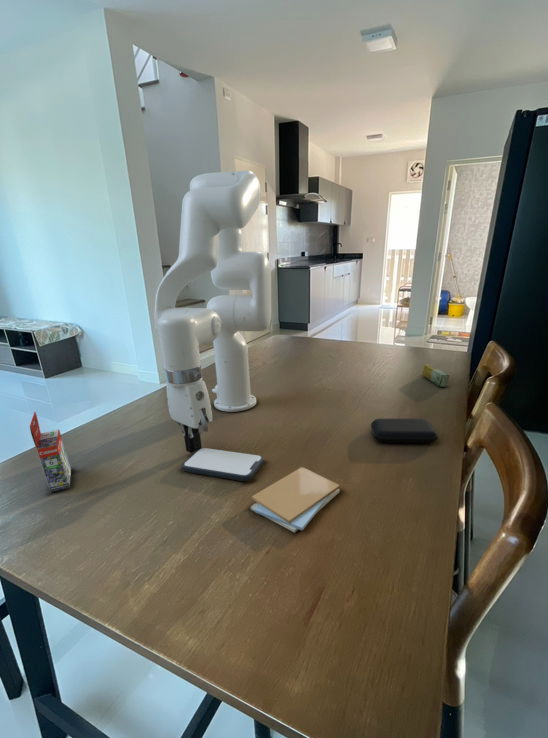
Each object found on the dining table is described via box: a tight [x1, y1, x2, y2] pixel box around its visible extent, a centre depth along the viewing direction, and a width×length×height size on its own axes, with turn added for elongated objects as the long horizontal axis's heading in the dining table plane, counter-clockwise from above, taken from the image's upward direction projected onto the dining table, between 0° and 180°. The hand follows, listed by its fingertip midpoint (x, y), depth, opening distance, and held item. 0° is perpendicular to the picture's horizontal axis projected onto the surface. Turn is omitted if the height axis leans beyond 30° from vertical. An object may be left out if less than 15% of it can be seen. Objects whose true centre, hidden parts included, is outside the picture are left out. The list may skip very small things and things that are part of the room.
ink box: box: [29, 411, 72, 493], centre depth 76 cm, size 4×8×15 cm, turn 26°
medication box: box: [421, 363, 450, 388], centre depth 127 cm, size 12×3×4 cm, turn 10°
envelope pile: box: [250, 466, 341, 534], centre depth 70 cm, size 12×15×2 cm
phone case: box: [181, 447, 265, 482], centre depth 82 cm, size 9×2×16 cm
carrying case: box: [370, 417, 439, 444], centre depth 93 cm, size 11×3×15 cm
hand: (194, 449), depth 88 cm, fingers closed
